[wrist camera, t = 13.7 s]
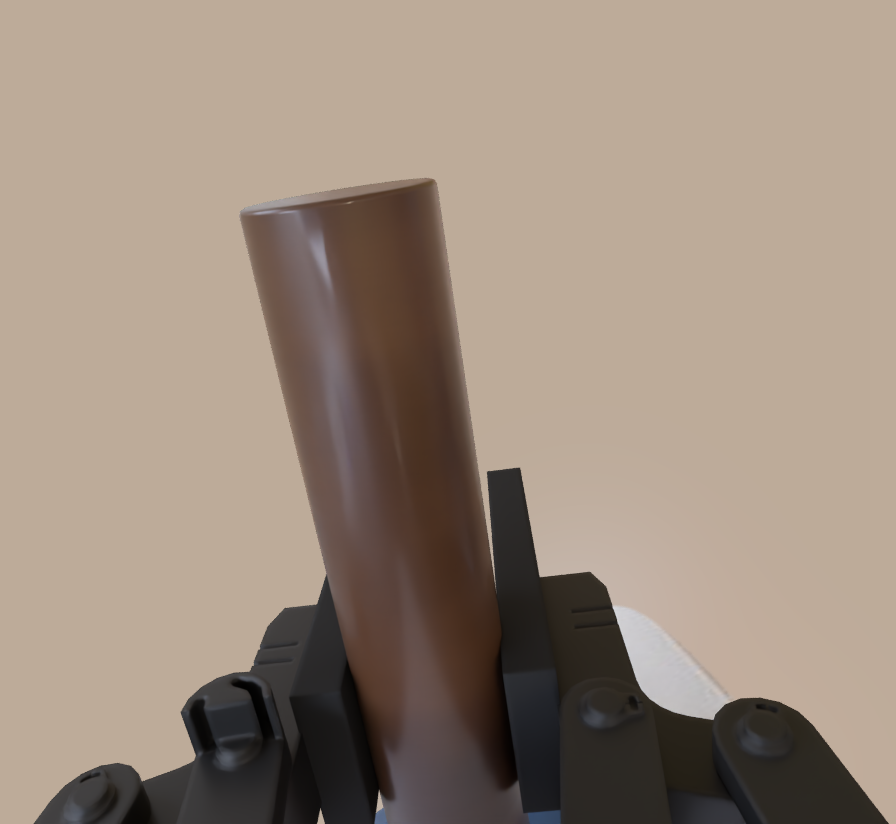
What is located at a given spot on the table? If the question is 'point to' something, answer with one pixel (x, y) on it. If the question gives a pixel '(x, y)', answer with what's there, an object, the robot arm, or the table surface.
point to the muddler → (393, 486)
